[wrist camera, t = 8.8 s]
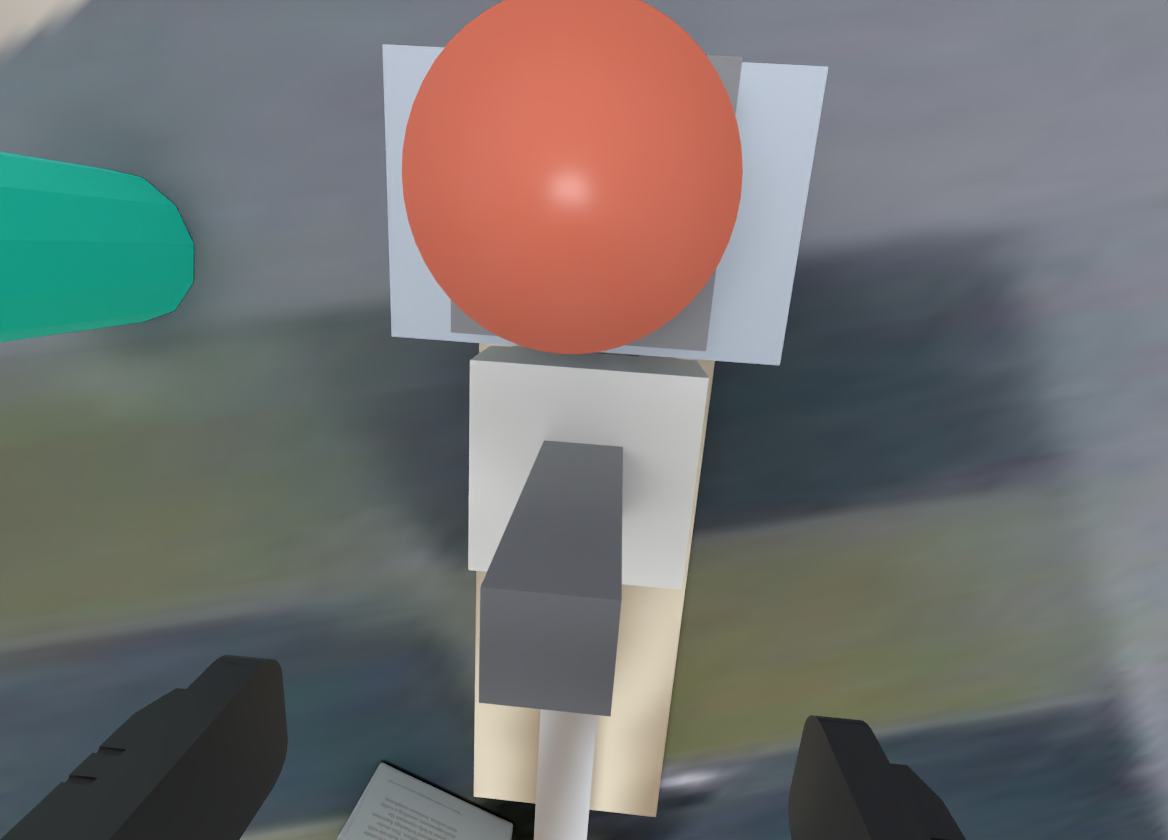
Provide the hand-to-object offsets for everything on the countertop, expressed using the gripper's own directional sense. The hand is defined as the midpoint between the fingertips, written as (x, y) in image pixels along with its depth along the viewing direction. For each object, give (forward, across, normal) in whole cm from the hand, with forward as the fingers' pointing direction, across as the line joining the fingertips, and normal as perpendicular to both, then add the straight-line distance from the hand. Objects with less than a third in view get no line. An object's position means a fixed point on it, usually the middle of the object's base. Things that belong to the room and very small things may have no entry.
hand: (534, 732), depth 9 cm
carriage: (+14, 0, 0) cm, 14 cm away
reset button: (+4, 0, -8) cm, 9 cm away
